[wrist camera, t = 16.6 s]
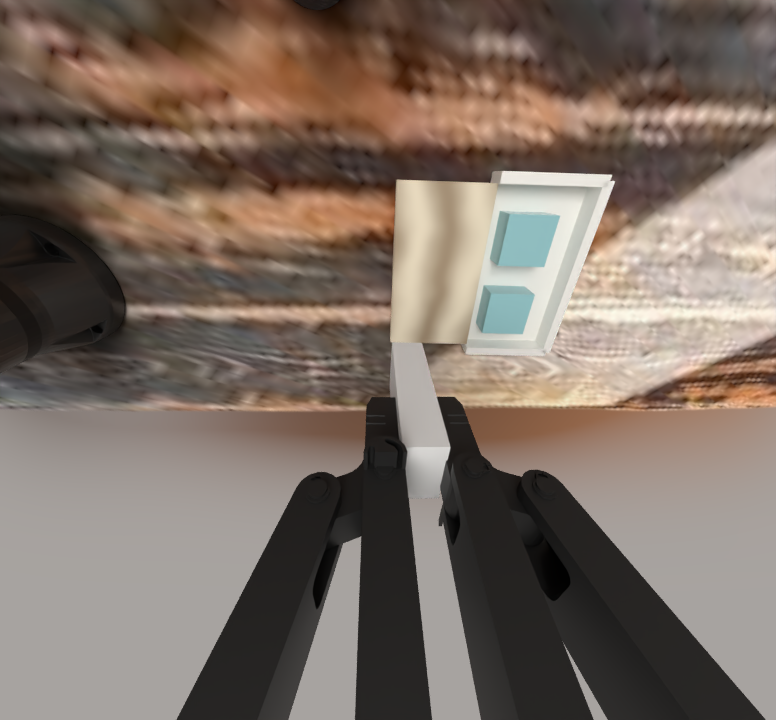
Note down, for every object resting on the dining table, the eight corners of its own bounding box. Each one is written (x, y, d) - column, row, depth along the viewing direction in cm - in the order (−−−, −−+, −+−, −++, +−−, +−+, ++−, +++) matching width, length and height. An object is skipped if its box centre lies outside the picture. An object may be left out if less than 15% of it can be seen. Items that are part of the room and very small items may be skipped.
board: (390, 335, 40) (390, 342, 38) (396, 179, 30) (396, 179, 28) (463, 336, 40) (466, 343, 38) (492, 182, 30) (498, 183, 28)
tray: (460, 343, 40) (465, 354, 38) (492, 171, 30) (502, 171, 27) (538, 345, 40) (548, 356, 38) (597, 175, 30) (617, 175, 27)
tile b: (475, 322, 38) (482, 333, 35) (483, 285, 35) (491, 293, 33) (513, 323, 38) (522, 334, 36) (524, 286, 35) (535, 294, 33)
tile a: (489, 259, 34) (498, 265, 31) (499, 210, 31) (509, 213, 28) (532, 260, 34) (544, 267, 31) (546, 212, 31) (560, 215, 28)
